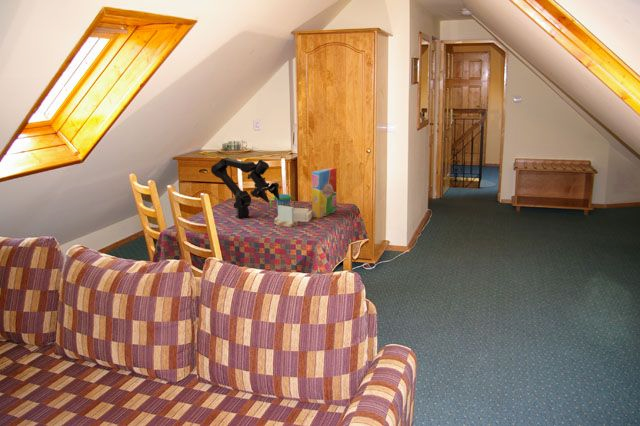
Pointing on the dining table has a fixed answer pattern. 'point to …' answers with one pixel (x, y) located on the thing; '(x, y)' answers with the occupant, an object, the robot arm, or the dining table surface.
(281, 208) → the pale grey tapered slat
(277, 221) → the stand
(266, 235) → the dining table surface
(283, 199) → the snack cup
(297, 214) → the rack
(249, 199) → the robot arm
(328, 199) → the game box
